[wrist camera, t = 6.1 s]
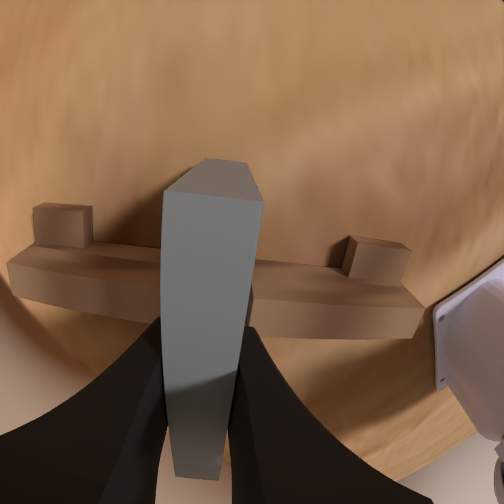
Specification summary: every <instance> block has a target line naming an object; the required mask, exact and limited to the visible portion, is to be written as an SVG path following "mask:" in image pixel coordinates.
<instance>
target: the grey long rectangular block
mask: <svg viewBox="0 0 504 504" xmlns="http://www.w3.org/2000/svg"><path fill="white" fill-rule="evenodd" d="M263 207H264V201H263V198H262V196H261V194H260V192H259V189H258V187H257V185H256V183H255V180H254V178H253V176H252V174H251V172H250V169H249V167H248V165H247V163H243V162H235V161H227V160H218V159H208V158H205V159H204V160H202V161H201V162H200V163H199V164H197V165H196V166H195V167H193V168H192V169H191V170H190V171H188V172H187V173H186V174H184V175H183V176H182V177H181V178H179V179H178V180H177V181H176V182H174V183H173V184H172V185H171V186H169V187H168V188H167V189H166V190H165V191H164V196H163V212H162V233H161V274H160V297H161V338H162V358H163V374H164V387H165V399H166V409H167V419H168V427H169V436H170V443H171V450H172V458H173V464H174V470H175V476H178V477H185V478H195V479H205V480H206V479H207V480H219V475H220V469H221V463H222V457H223V452H224V446H225V440H226V434H227V428H228V422H229V416H230V410H231V404H232V398H233V392H234V386H235V380H236V374H237V368H238V362H239V355H240V349H241V343H242V337H243V331H244V325H245V319H246V313H247V307H248V300H249V294H250V288H251V282H252V276H253V269H254V263H255V257H256V251H257V245H258V238H259V232H260V226H261V219H262V213H263Z"/></svg>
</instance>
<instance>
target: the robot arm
mask: <svg viewBox="0 0 504 504" xmlns="http://www.w3.org/2000/svg"><path fill="white" fill-rule="evenodd" d="M432 314H433V325H434V340H435V368H436V389H437V390H442V389H443V388H445V387H447V386H449V388H450V389H451V391H452V392H453V394H454V395H455V397H456V398H457V400H458V401H459V403H460V404H461V406H462V407H463V409H464V410H465V412H466V413H467V415H468V416H469V418H470V419H471V421H472V423H473V424H474V426H475V427H476V429H477V430H478V432H479V433H480V434H481V435H482V436H484V437H485V438H487V439H489V440H492V441H501V442H500V444H499V445H498V446H497V447H496V448H495V451H496V453H497V454H498V456H499V458H498V460H497V462H496V465H495V470H494V490H495V495H496V498H497V501H498V503H499V504H504V258H503V259H502V260H501V261H499V262H498V263H497V264H495V265H494V266H493V267H491V268H490V269H489V270H487V271H486V272H485V273H483V274H482V275H480V276H479V277H478V278H476V279H475V280H473V281H472V282H471V283H469V284H468V285H466V286H465V287H463V288H462V289H460V290H459V291H457V292H456V293H454V294H453V295H451V296H450V297H448V298H447V299H445V300H444V301H442V302H440V303H439V304H437V305H436V306H435V307H434V309H433V313H432ZM167 427H168V419H167V409H166V399H165V387H164V374H163V358H162V338H161V317H158V318H156V319H155V320H154V321H153V322H152V324H151V325H150V326H149V327H148V328H147V329H146V330H145V331H144V332H143V334H142V335H141V336H140V337H139V338H138V339H137V340H136V341H135V342H134V343H133V344H132V345H131V346H130V347H129V348H128V349H127V350H126V351H125V352H124V353H123V354H122V355H121V356H120V357H119V358H118V359H117V360H116V361H115V362H114V363H113V364H112V365H110V366H109V367H108V368H107V369H106V370H105V371H104V372H103V373H101V374H100V375H99V376H98V377H97V378H96V379H94V380H93V381H92V382H91V383H90V384H88V385H87V386H86V387H84V388H83V389H82V390H80V391H79V392H78V393H76V394H75V395H74V396H72V397H71V398H69V399H68V400H66V401H65V402H63V403H62V404H60V405H58V406H57V407H55V408H54V409H52V410H51V411H49V412H47V413H46V414H44V415H42V416H40V417H39V418H37V419H35V420H33V421H31V422H29V423H27V424H25V425H23V426H21V427H18V428H16V429H14V430H12V431H10V432H7V433H5V434H3V435H0V504H155V496H156V485H157V476H158V466H159V461H160V456H161V451H162V447H163V443H164V439H165V435H166V431H167ZM228 438H229V448H230V457H231V469H232V504H434V503H433V502H432V500H431V499H430V498H427V497H425V496H423V495H421V494H419V493H417V492H415V491H413V490H410V489H409V488H407V487H405V486H403V485H401V484H399V483H397V482H395V481H393V480H392V479H390V478H388V477H387V476H385V475H384V474H382V473H380V472H379V471H377V470H376V469H374V468H373V467H371V466H370V465H369V464H367V463H366V462H365V461H363V460H362V459H361V458H359V457H358V456H357V455H356V454H354V453H353V452H352V451H350V450H349V449H348V448H347V447H345V446H344V445H343V444H342V443H341V442H340V441H338V440H337V439H336V438H335V437H334V436H333V435H332V434H331V433H330V432H329V431H328V430H327V429H326V428H325V427H324V426H323V425H322V424H321V423H320V422H319V421H318V420H317V419H316V418H315V417H314V416H313V415H312V413H311V412H310V411H309V410H308V409H307V408H306V406H305V405H304V404H303V403H302V402H301V400H300V399H299V398H298V397H297V395H296V394H295V393H294V391H293V390H292V389H291V387H290V386H289V385H288V383H287V382H286V380H285V379H284V377H283V376H282V374H281V373H280V371H279V370H278V368H277V367H276V365H275V364H274V362H273V360H272V359H271V357H270V355H269V354H268V352H267V350H266V348H265V346H264V345H263V343H262V341H261V339H260V337H259V335H258V333H257V330H256V329H255V328H254V327H250V326H244V331H243V337H242V343H241V349H240V355H239V362H238V368H237V374H236V380H235V386H234V392H233V398H232V404H231V410H230V416H229V422H228Z"/></svg>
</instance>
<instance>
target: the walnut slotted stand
mask: <svg viewBox="0 0 504 504" xmlns="http://www.w3.org/2000/svg"><path fill="white" fill-rule="evenodd" d="M33 221H34V232H35V243H33V244H32V245H30V246H29V247H27V248H26V249H24V250H23V251H22V252H20V253H19V254H17V255H16V256H15V257H13V258H12V259H10V260H9V261H8V262H6V264H7V269H8V274H9V279H10V284H11V288H12V292H13V295H14V296H17V297H21V298H25V299H29V300H32V301H36V302H41V303H45V304H49V305H53V306H57V307H62V308H66V309H71V310H76V311H81V312H85V313H90V314H96V315H101V316H106V317H112V318H117V319H123V320H129V321H135V322H141V323H148V324H152V322H153V321H154V320H155V319H156V318H158V317H161V297H160V274H161V249H158V248H149V247H141V246H132V245H123V244H115V243H106V242H98V241H93V220H92V206H82V205H69V204H54V203H42V204H40V205H38V206H36V207H34V208H33ZM410 252H411V250H409V249H408V248H407V247H405V246H404V245H403V244H401V243H396V242H390V241H383V240H377V239H370V238H364V237H357V236H350V237H349V241H348V245H347V249H346V253H345V257H344V261H343V264H342V268H331V267H322V266H312V265H303V264H293V263H284V262H275V261H265V260H256V259H255V263H254V269H253V276H252V282H251V288H250V294H249V300H248V307H247V313H246V320H247V326H250V327H254V328H255V329H256V330H257V333H258V335H259V336H269V337H286V338H308V339H407V338H413V336H414V333H415V331H416V329H417V327H418V325H419V323H420V320H421V318H422V316H423V314H424V311H425V309H426V308H425V307H424V306H423V305H422V304H421V303H420V302H419V301H418V300H417V299H416V298H415V297H414V296H413V295H412V294H411V293H410V292H409V291H408V290H407V289H406V288H405V287H404V286H403V285H402V284H401V283H400V282H401V279H402V276H403V273H404V270H405V267H406V264H407V261H408V258H409V255H410Z"/></svg>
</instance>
